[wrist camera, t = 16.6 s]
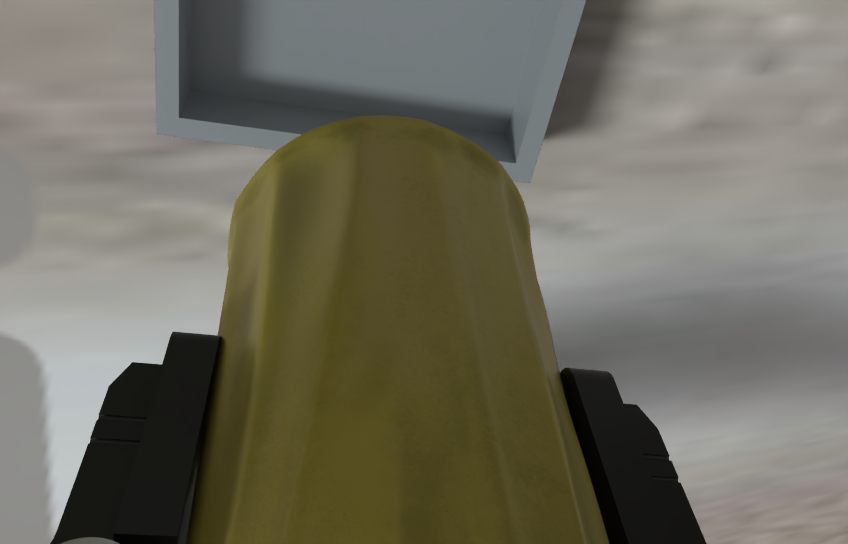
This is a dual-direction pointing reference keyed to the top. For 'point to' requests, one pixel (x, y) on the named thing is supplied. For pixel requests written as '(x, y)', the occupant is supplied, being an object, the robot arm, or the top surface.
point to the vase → (386, 355)
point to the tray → (363, 68)
